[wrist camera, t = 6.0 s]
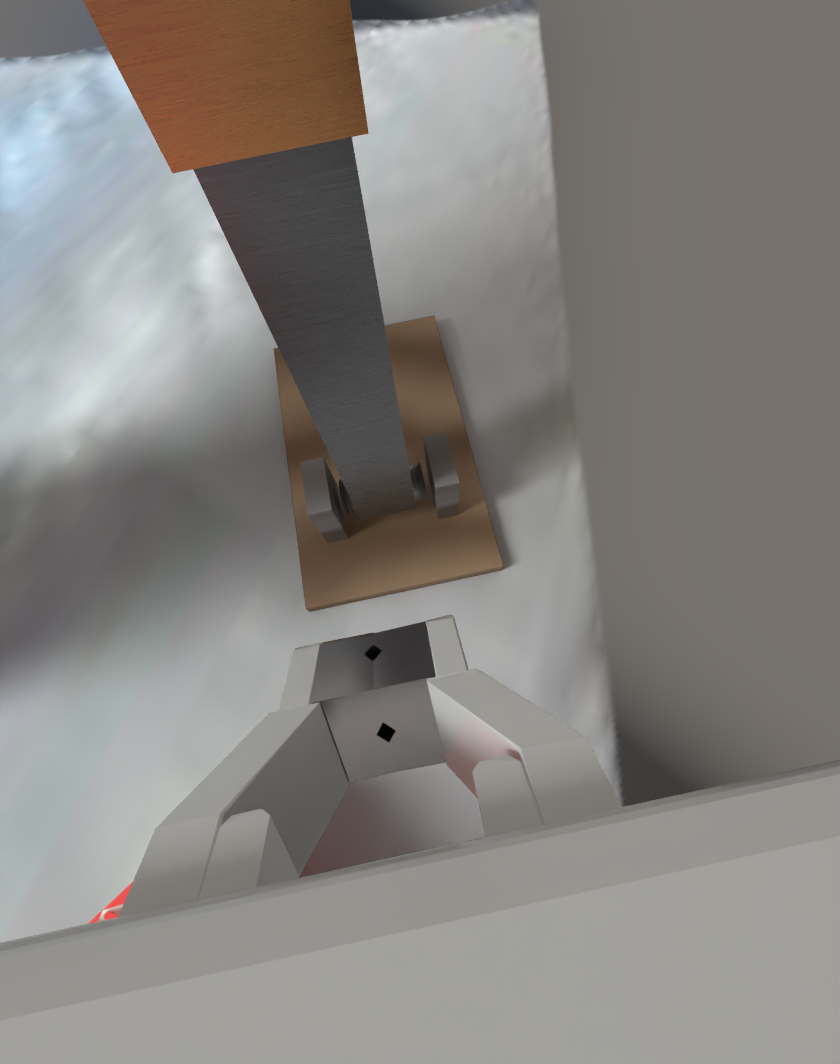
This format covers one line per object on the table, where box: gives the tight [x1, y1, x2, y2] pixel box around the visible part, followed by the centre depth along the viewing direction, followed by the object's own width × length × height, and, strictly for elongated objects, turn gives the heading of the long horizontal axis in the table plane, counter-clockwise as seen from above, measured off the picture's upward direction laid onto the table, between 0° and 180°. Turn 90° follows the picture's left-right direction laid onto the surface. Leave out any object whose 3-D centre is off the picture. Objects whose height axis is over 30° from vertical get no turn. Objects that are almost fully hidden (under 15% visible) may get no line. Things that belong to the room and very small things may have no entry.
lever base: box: [274, 316, 503, 611], centre depth 28 cm, size 18×11×5 cm, turn 12°
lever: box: [83, 0, 427, 520], centre depth 17 cm, size 4×4×22 cm
